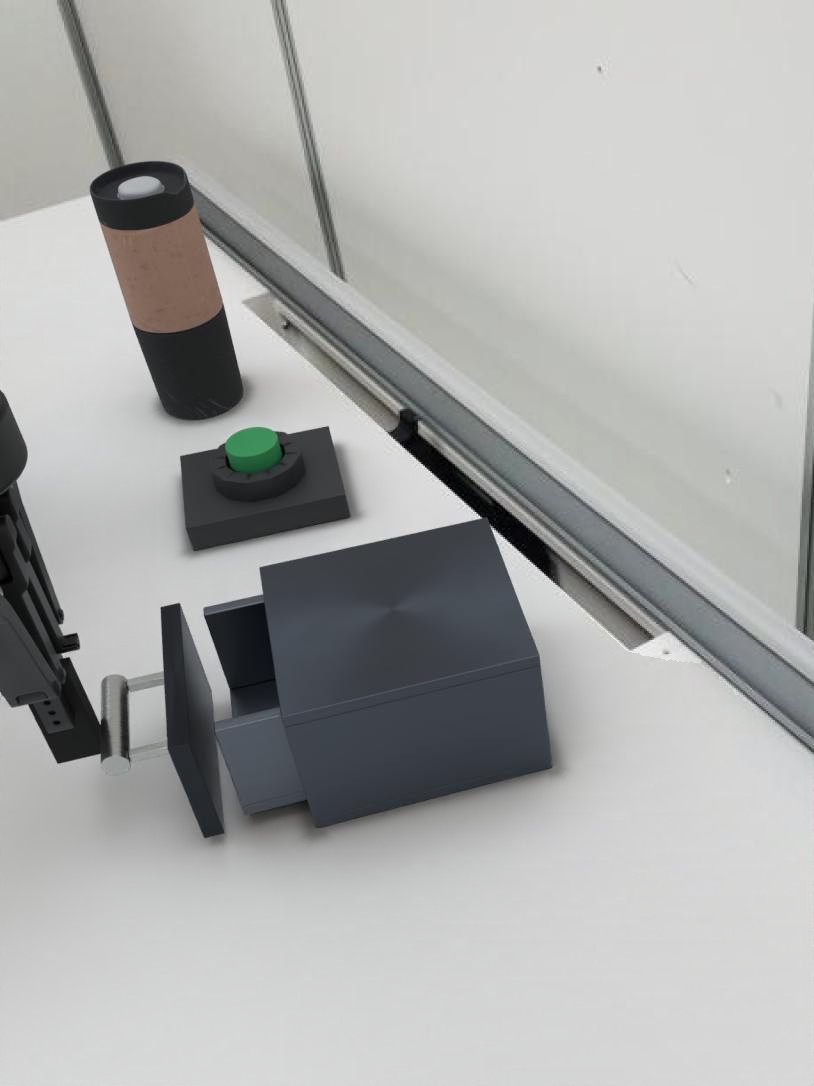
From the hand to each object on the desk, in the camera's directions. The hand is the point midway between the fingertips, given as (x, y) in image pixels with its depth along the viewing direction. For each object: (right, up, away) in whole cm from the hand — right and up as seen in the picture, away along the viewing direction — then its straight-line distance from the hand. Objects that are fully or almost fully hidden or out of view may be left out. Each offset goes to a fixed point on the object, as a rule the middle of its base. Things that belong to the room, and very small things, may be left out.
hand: (81, 749), depth 76 cm
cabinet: (+19, +1, +7) cm, 20 cm away
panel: (+4, +17, +26) cm, 31 cm away
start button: (+4, +20, +23) cm, 31 cm away
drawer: (+10, 0, +4) cm, 11 cm away
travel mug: (-4, +27, +38) cm, 46 cm away
